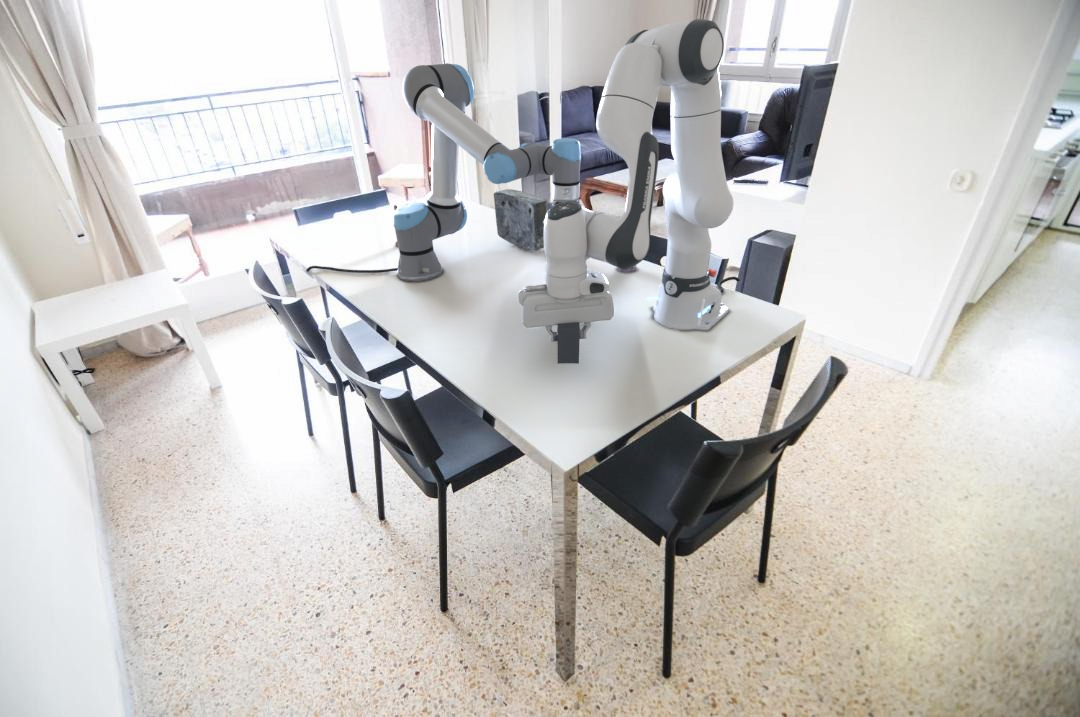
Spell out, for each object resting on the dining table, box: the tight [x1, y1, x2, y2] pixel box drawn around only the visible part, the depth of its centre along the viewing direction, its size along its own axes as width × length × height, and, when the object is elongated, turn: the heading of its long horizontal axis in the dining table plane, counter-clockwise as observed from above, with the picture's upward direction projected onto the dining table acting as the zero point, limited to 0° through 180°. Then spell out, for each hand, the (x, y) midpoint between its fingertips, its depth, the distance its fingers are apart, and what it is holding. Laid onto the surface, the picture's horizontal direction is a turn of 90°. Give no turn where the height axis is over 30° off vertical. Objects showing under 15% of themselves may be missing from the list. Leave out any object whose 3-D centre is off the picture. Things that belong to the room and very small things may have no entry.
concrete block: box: [493, 188, 548, 252], centre depth 191 cm, size 27×9×20 cm, turn 36°
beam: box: [556, 322, 581, 365], centre depth 131 cm, size 53×5×9 cm, turn 178°
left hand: (565, 276), depth 152 cm, fingers closed on beam, 5 cm apart
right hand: (568, 339), depth 113 cm, fingers closed on beam, 5 cm apart
